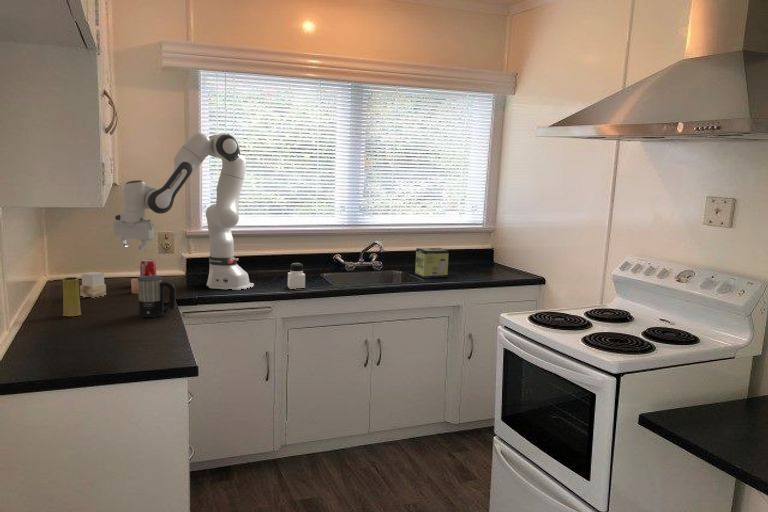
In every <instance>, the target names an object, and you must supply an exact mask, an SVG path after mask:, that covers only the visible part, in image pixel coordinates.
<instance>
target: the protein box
mask: <svg viewBox="0 0 768 512" xmlns="http://www.w3.org/2000/svg"><path fill="white" fill-rule="evenodd" d="M449 253H450V251H449V250H448V249H445V248H442V247H424V248H423V247H422V248H420V247H418V248H417V247H416V251H415V267H414V268H415V270H414V272H415V273H414V275H415V276H416V275H418V276H421V277H430V276H444V275H447V276H448V272H449V271H448V269H449ZM418 276H417V277H418ZM421 277H420V278H421Z"/></svg>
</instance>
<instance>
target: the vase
mask: <svg viewBox="0 0 768 512" xmlns="http://www.w3.org/2000/svg"><path fill="white" fill-rule="evenodd" d="M79 280H80V279H79V277H76V276H75V277H74V276H70V277H63V278H62V297H63V298H62V299H63V300H62V301H63V303H62V306H63V309H62V310H63V311H62V312H63V313H62V317H63V316H78V315H82V312H81V300H80V299H81V297H80V283H79V282H80V281H79Z"/></svg>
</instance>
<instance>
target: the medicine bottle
mask: <svg viewBox="0 0 768 512" xmlns="http://www.w3.org/2000/svg"><path fill="white" fill-rule="evenodd" d="M289 266H290V268H289V269H290V270H289V271H290V272H287V287H288V289H290V290H291V289H295V290H297V289H296V288H305V289H306V273H304V264H303V263H300V262H294V263H291V264H290V265H289Z"/></svg>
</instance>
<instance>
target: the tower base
mask: <svg viewBox="0 0 768 512" xmlns="http://www.w3.org/2000/svg"><path fill="white" fill-rule="evenodd" d="M104 295H106V296H107V284H106V283H104V285H99V286H95V287H90V286H83V285H82V284H81V285H80V284H79V296H83V297H82V298H85V297H91V298H90V299H92V298H94V299H96V298H95V297H98V298H100V297H99V296H102V297H105V296H104Z"/></svg>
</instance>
